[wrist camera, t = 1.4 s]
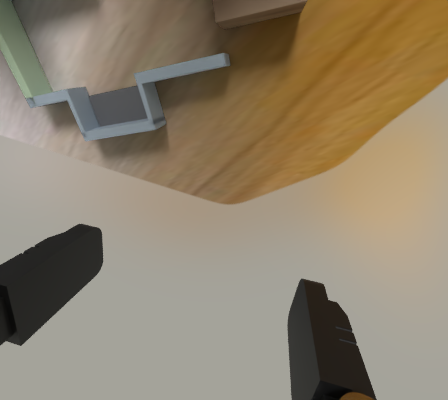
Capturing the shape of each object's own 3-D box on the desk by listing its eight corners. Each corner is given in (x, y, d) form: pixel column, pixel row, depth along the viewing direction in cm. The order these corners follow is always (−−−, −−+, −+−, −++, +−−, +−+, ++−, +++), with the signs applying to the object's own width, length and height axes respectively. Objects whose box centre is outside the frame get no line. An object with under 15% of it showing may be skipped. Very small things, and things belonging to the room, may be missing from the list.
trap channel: (-31, -69, 23) (-69, -86, 20) (194, -175, 18) (180, -216, 15) (68, 140, 32) (50, 147, 29) (237, 111, 27) (233, 116, 24)
